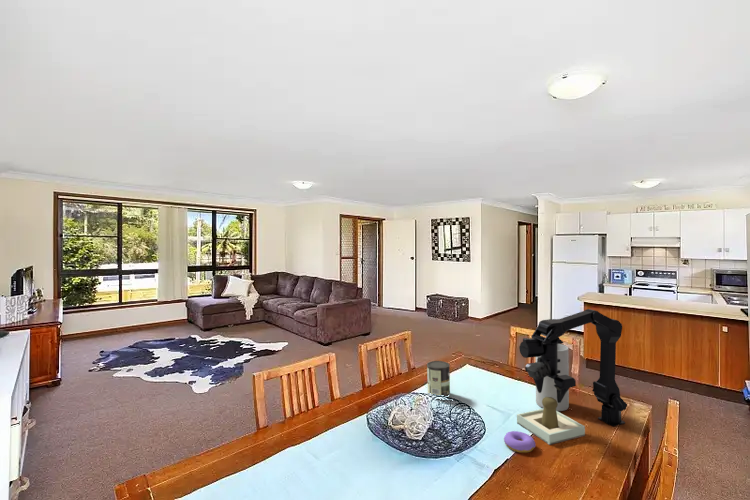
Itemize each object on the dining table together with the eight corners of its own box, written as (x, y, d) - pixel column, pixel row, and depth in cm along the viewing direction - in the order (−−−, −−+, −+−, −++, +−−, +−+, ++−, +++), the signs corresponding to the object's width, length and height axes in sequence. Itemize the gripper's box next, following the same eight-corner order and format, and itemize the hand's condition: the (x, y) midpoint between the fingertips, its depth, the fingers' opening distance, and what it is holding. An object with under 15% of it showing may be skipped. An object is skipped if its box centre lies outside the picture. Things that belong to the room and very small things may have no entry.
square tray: (550, 415, 146) (549, 407, 146) (584, 435, 131) (584, 426, 131) (517, 423, 141) (517, 414, 141) (549, 444, 126) (549, 434, 126)
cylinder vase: (570, 402, 158) (569, 344, 157) (567, 414, 147) (566, 352, 146) (538, 396, 164) (537, 340, 164) (533, 407, 154) (533, 348, 153)
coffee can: (447, 390, 173) (447, 360, 173) (452, 399, 163) (451, 368, 163) (426, 390, 174) (425, 360, 173) (428, 399, 163) (428, 368, 163)
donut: (503, 450, 123) (503, 435, 124) (504, 442, 131) (504, 428, 132) (535, 457, 119) (535, 440, 120) (535, 447, 127) (535, 433, 128)
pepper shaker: (561, 432, 133) (561, 402, 132) (543, 431, 134) (543, 401, 133) (556, 424, 139) (556, 395, 138) (539, 423, 140) (538, 394, 139)
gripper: (513, 350, 142) (513, 391, 142) (551, 366, 124) (551, 412, 124) (536, 347, 145) (537, 386, 146) (576, 362, 128) (576, 406, 128)
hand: (549, 397), depth 136 cm, fingers open, 9 cm apart
